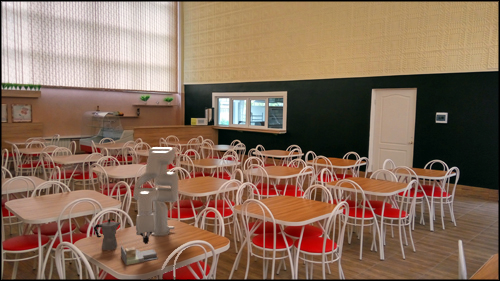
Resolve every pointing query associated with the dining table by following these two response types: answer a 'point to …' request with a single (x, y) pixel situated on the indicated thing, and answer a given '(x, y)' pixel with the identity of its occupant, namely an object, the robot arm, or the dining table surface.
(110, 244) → the coffeepot
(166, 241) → the dining table surface
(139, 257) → the multicoloured piece
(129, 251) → the maple block
